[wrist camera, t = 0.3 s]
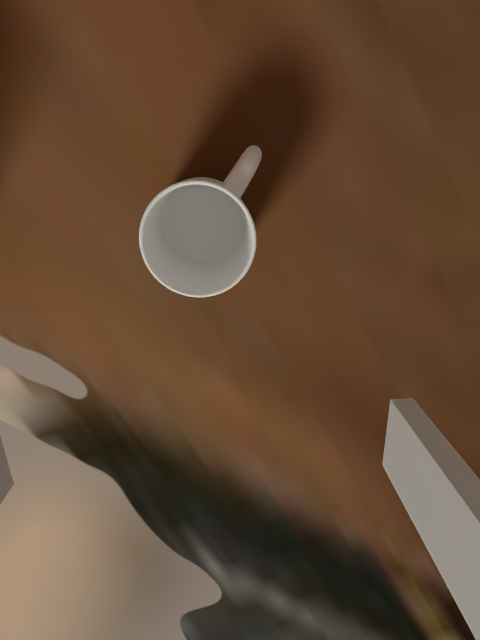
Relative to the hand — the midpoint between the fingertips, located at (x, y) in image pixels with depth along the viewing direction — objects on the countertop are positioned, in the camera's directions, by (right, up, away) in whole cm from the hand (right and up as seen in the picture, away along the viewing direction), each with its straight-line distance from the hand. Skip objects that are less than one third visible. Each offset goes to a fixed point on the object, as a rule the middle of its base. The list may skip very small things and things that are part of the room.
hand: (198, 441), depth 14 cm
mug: (-1, +15, +24) cm, 28 cm away
